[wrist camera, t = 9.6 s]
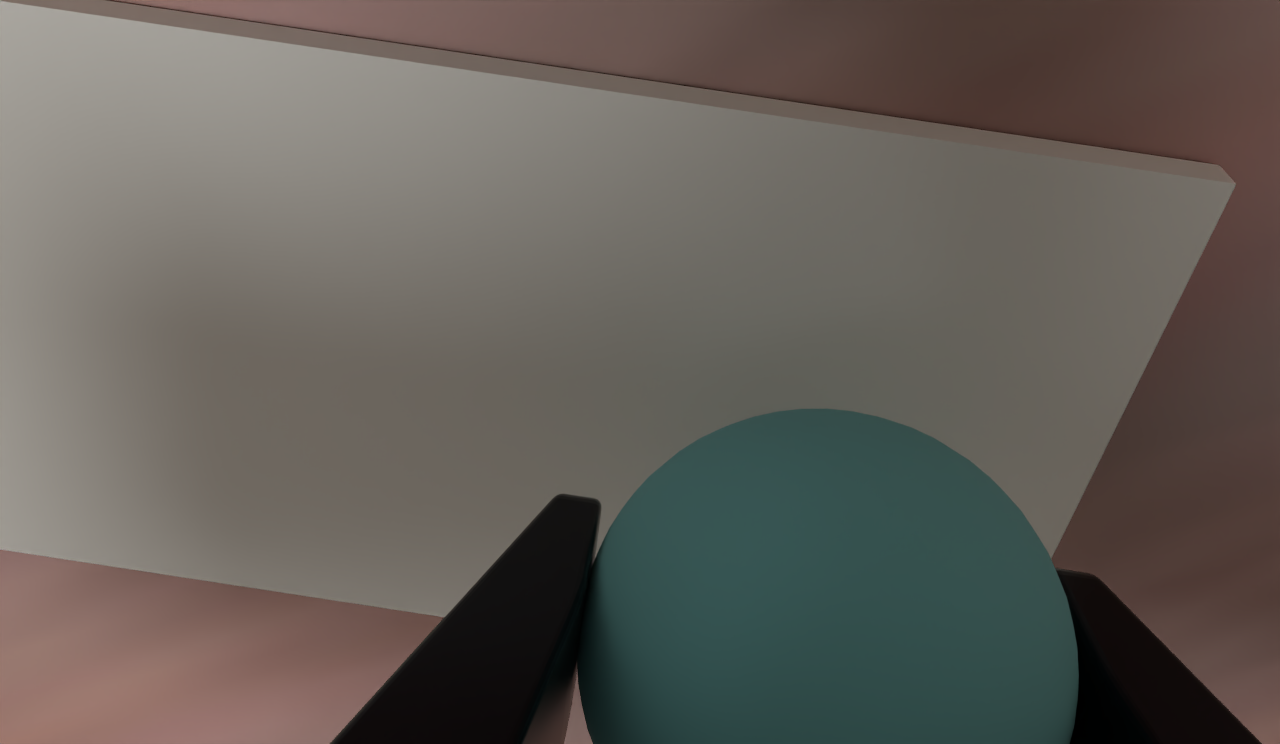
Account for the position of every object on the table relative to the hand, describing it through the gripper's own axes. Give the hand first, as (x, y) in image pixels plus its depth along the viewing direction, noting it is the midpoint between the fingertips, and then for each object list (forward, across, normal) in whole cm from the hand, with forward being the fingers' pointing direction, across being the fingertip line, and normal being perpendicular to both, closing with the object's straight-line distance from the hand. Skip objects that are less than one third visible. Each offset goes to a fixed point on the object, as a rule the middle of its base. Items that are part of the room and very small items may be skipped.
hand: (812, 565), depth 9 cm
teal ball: (-1, 0, 0) cm, 1 cm away
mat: (+2, +4, 0) cm, 5 cm away
